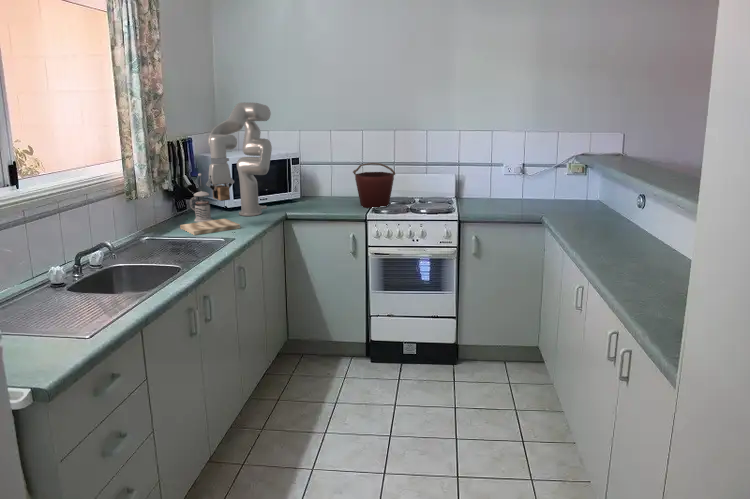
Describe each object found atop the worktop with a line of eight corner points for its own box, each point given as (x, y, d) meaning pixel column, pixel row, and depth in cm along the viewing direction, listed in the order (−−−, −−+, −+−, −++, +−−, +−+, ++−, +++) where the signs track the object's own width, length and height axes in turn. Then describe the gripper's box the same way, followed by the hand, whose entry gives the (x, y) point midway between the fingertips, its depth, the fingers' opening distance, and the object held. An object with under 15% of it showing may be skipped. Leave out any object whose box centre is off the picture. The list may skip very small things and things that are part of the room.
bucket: (348, 207, 364) (347, 164, 357) (363, 200, 384) (363, 160, 377) (387, 210, 355) (387, 166, 348) (400, 203, 374) (401, 161, 368)
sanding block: (222, 197, 318) (221, 184, 317) (230, 199, 312) (229, 187, 310) (213, 198, 315) (212, 185, 314) (220, 200, 309) (219, 188, 307)
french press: (207, 222, 328) (204, 174, 322) (187, 221, 330) (183, 174, 324) (216, 218, 337) (212, 172, 331) (196, 217, 340) (192, 171, 333)
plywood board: (225, 222, 327) (224, 218, 327) (240, 228, 313) (240, 224, 313) (180, 228, 313) (180, 224, 313) (194, 235, 299) (193, 231, 299)
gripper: (231, 159, 317) (233, 194, 321) (199, 161, 307) (202, 198, 311) (238, 160, 311) (240, 196, 315) (205, 163, 301) (208, 200, 305)
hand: (221, 197), depth 313 cm, fingers closed on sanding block, 5 cm apart
